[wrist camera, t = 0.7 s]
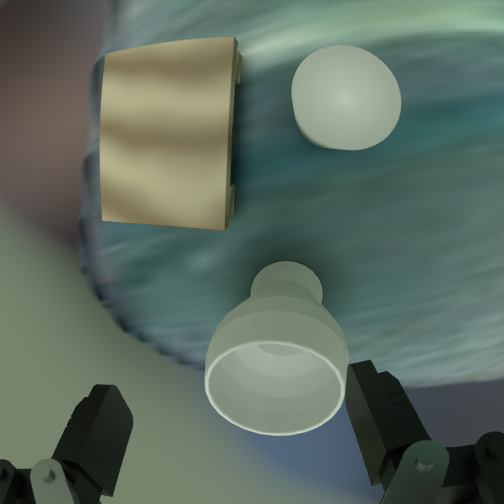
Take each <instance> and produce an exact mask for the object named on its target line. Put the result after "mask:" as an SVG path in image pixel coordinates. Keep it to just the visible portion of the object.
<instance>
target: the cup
mask: <svg viewBox="0 0 504 504" xmlns="http://www.w3.org/2000/svg"><path fill="white" fill-rule="evenodd" d="M322 298H323V291H322V285H321V283H320V280H319V278H318V277H317V276H316V274H315V273H314V272H313V271H312V270H311V269H309V268H308V267H306V266H305V265H302V264H300V263H297V262H291V261H281V262H275V263H273V264H270V265H268V266H266V267H265V268H264V269H262V270H261V271H260V272H259V273H258V274H257V276H256V277H255V278H254V281H253V283H252V286H251V295H250V297H249V298H248V299H246V300H245V301H244V302H242V303H241V304H239V305H238V306H237V307H236V308H234V309H233V310H232V311H230V312H229V313H228V314H227V315H226V316H225V317H224V319H223V320H222V321H221V323H220V324H219V325H218V327H217V329H216V331H215V333H214V335H213V337H212V340H211V342H210V345H209V348H208V351H207V354H206V366H205V391H206V393H207V396H208V398H209V400H210V403H211V404H212V405H213V407H214V408H215V409H216V410H217V411H218V413H219V414H220V415H222V416H223V417H224V418H226V419H227V420H228V421H230V422H231V423H233V424H235V425H237V426H239V427H241V428H243V429H246V430H249V431H252V432H256V433H259V434H267V435H275V436H277V435H293V434H298V433H303V432H307V431H309V430H312V429H314V428H316V427H318V426H321V425H322V424H324V423H325V422H326V421H328V420H329V419H331V418H332V417H333V415H334V414H335V413H336V412H337V410H338V409H339V408H340V407H341V404H342V402H343V399H344V396H345V388H346V376H347V366H348V364H350V363H349V353H348V347H347V342H346V339H345V336H344V334H343V331H342V329H341V327H340V325H339V324H338V323H337V322H336V320H335V319H334V318H333V317H332V315H331V314H330V313H329V312H328V311H327V310H326V308H325V307H324V306H323V305H322Z"/></svg>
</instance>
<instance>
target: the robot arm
mask: <svg viewBox="0 0 504 504" xmlns="http://www.w3.org/2000/svg"><path fill="white" fill-rule="evenodd" d="M345 403H346V408H347V411H348V415H349V418H350V420H351V424H352V426H353V429H354V432H355V435H356V438H357V441H358V445H359V448H360V450H361V453H362V457H363V460H364V463H365V466H366V469H367V472H368V475H369V479H370V482H371V485H372V486H374V485H377V484H381V483H382V486H383V489H384V494H383V496H382V498H381V500H380V502H379V504H504V434H503V433H501V432H489V433H486V434H484V435H483V436H482V437H481V438H480V439H479V440H478V441H477V443H476V444H473V445H467V446H460V447H444V446H443V445H442V444H440V443H438V442H435V441H433V440H431V438H430V437H429V436H428V434H427V432H426V430H425V428H424V427H423V425H422V423H421V421H420V419H419V417H418V415H417V413H416V411H415V409H414V408H413V406H412V404H411V402H409V399H408V397H407V395H406V393H404V389H403V388H402V386H401V384H400V382H399V380H398V379H397V378H395V377H394V376H393V375H391V374H390V373H389V372H387V371H385V372H381V373H377V371H376V369H375V367H374V365H373V363H372V361H371V360H366V361H362V362H358V363H353V364H348V366H347V376H346V388H345ZM132 428H133V416H132V413H131V411H130V409H129V407H128V406H127V404H126V402H125V400H124V399H123V397H122V395H121V393H120V391H119V389H118V388H117V387H116V386H115V385H101V384H100V385H99V384H96V385H94V387H93V388H92V390H91V392H90V394H89V396H88V397H85V398H84V399H83V400H82V401H81V402H80V403H79V404H78V405H77V406H76V408H75V409H74V411H73V413H72V415H71V419H69V422H68V424H67V427H66V428H65V430H64V432H63V434H62V436H61V438H60V440H59V443H58V445H57V447H56V449H55V451H54V454H53V456H52V457H51V459H49V458H48V459H43V460H40V461H39V462H37V463H36V464H35V465H34V467H33V468H32V469H16V468H15V467H14V466H13V465H12V464H11V463H10V462H9V461H7V460H4V459H1V460H0V504H102V503H101V502H100V501H99V500H100V496H101V495H105V496H110V497H113V493H114V490H115V486H116V482H117V479H118V475H119V471H120V468H121V464H122V461H123V457H124V454H125V451H126V447H127V444H128V441H129V438H130V434H131V431H132Z"/></svg>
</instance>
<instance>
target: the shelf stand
mask: <svg viewBox="0 0 504 504" xmlns="http://www.w3.org/2000/svg"><path fill="white" fill-rule="evenodd" d="M237 46H238V42H237V40H236V39H235V37H214V38H200V39H190V40H180V41H172V42H165V43H158V44H152V45H146V46H140V47H135V48H130V49H125V50H120V51H116V52H112V53H107V54H106V56H105V65H104V74H103V86H102V99H101V119H100V185H101V205H102V219H103V221H115V222H128V223H141V224H154V225H167V226H179V227H191V228H203V229H214V230H225V229H226V228H227V227H228V226H229V218H230V217H231V216H232V215H233V214H234V196H235V184H230V174H231V151H232V130H233V111H234V93H235V84H240V76H241V60H242V56H241V54H240V53H239V52H238V50H237Z"/></svg>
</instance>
